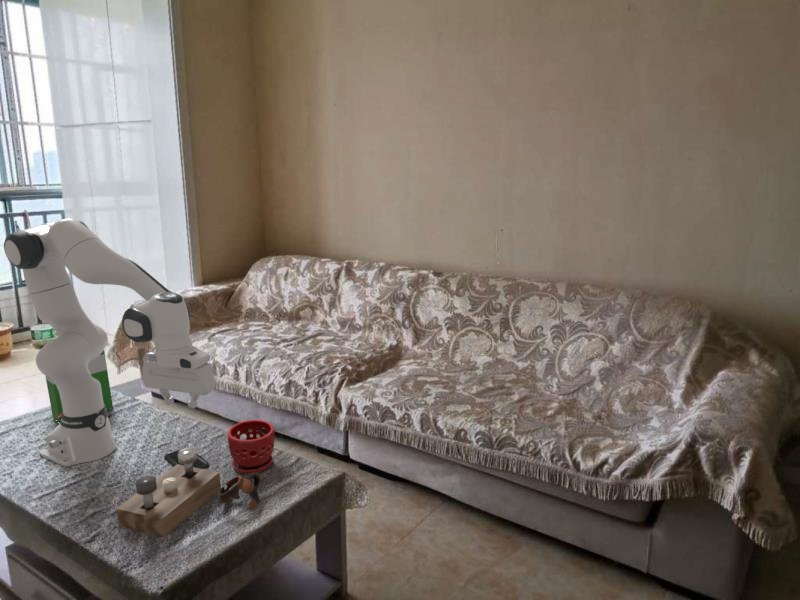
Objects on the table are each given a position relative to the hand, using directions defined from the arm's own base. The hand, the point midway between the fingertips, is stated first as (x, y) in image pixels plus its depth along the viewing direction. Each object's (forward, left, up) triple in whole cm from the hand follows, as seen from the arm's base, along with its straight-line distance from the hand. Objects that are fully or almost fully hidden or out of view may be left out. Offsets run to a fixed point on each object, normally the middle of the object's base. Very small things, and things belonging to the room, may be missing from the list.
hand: (181, 405), depth 151 cm
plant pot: (+9, +16, -26) cm, 32 cm away
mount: (0, -8, -25) cm, 26 cm away
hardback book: (-71, +29, -26) cm, 81 cm away
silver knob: (0, 0, -20) cm, 20 cm away
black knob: (0, -15, -20) cm, 25 cm away
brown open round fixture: (+17, 0, -26) cm, 30 cm away
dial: (0, -8, -20) cm, 22 cm away
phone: (-12, +12, -26) cm, 31 cm away
